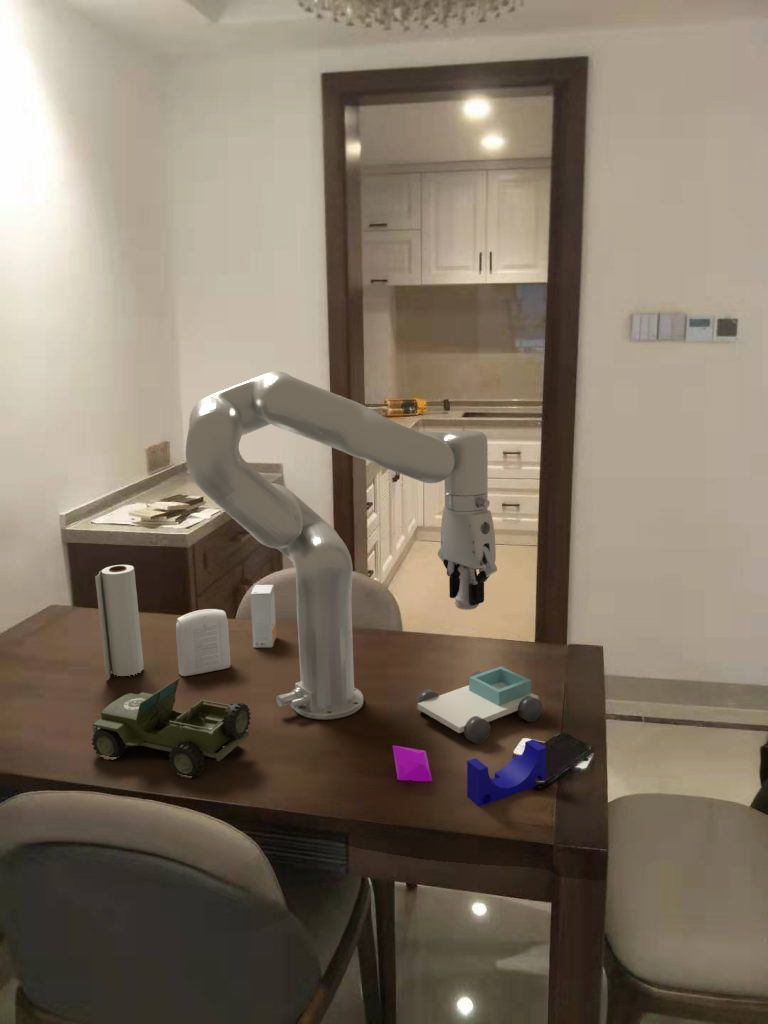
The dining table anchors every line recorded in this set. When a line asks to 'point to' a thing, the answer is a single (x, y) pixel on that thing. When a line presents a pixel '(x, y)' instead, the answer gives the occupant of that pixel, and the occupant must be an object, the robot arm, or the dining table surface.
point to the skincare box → (263, 616)
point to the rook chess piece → (464, 589)
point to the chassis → (482, 702)
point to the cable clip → (506, 775)
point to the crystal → (411, 764)
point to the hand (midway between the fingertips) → (466, 598)
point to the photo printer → (202, 642)
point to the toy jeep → (171, 728)
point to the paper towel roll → (119, 620)
